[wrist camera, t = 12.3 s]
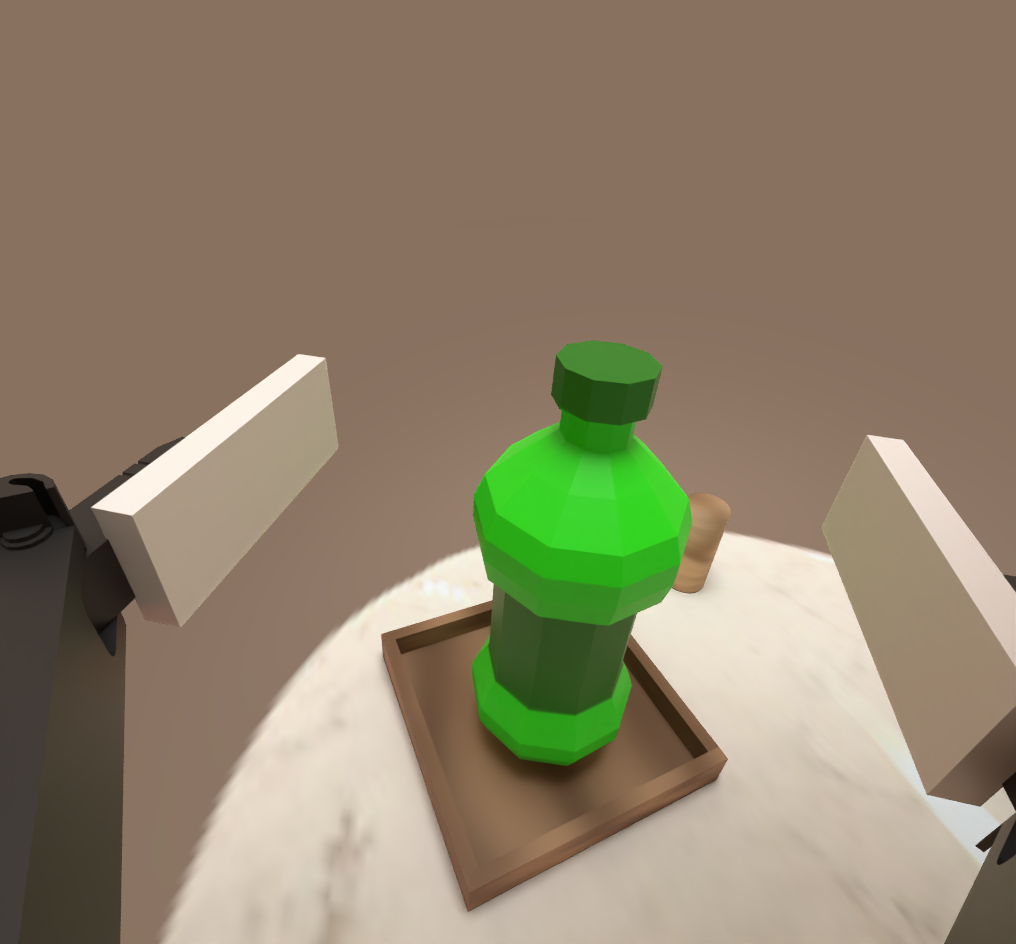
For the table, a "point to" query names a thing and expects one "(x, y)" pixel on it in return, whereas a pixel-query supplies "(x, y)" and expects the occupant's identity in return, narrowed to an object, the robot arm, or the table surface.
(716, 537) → the peg
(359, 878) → the table surface
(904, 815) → the table surface
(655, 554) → the plastic bottle
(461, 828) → the tray
